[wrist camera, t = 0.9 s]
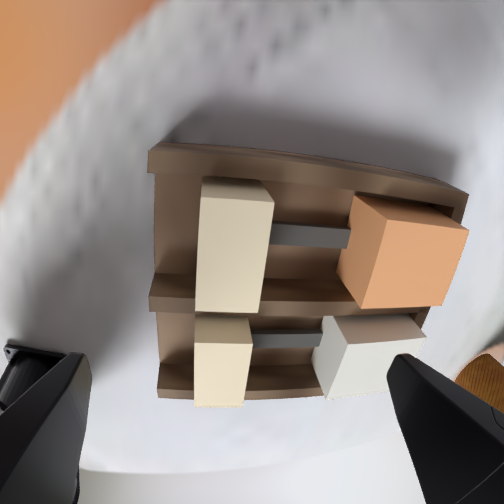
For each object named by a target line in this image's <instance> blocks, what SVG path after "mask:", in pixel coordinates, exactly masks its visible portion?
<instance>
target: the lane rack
mask: <svg viewBox="0 0 504 504" xmlns="http://www.w3.org/2000/svg"><path fill="white" fill-rule="evenodd" d="M147 173H155V203H154V263H155V274H154V278H153V281H152V285H151V289H150V293H149V309H150V312H156V316H157V332H158V346H159V358H160V367H159V375H158V384H157V393H158V398H170V399H192V400H194V339H195V314H210V315H244V316H248V321H249V326H250V330H297V329H320V327H321V324H322V321H323V317H324V316H344V315H377V314H400V313H408V314H409V316H410V317H411V318H412V319H413V321H414V322H415V323H416V324H417V326H418V327H419V328H420V329H421V328H422V325H423V323H424V321H425V319H426V316H427V314H428V312H429V310H430V307H431V306H424V307H401V308H370V309H361V308H360V307H359V305H358V304H357V302H356V301H355V299H354V298H353V296H352V295H351V293H350V292H349V290H348V289H347V288H346V286H345V285H344V283H343V282H342V280H341V279H340V277H339V276H338V274H337V273H336V269H337V266H338V262H339V258H340V254H341V249H339V248H323V247H306V246H289V245H272V244H268V251H267V257H266V264H265V270H264V277H263V283H262V290H261V296H260V303H259V309H258V313H236V312H206V311H195V299H196V272H197V251H198V233H199V216H200V201H201V188H202V176H215V177H229V178H242V179H254V180H260V181H261V182H262V184H263V185H264V187H265V188H266V190H267V191H268V193H269V195H270V196H271V198H272V199H273V201H274V202H275V204H274V210H273V217H272V221H285V222H298V223H310V224H322V225H334V226H345V227H347V224H348V220H349V215H350V211H351V206H352V201H353V197H354V195H357V196H365V197H372V198H379V199H385V200H392V201H398V202H405V203H411V204H417V205H423V206H429V207H432V208H434V209H436V210H437V211H439V212H441V213H442V214H444V215H446V216H447V217H449V218H451V219H452V220H454V221H455V222H457V223H459V224H460V225H461V221H462V218H463V214H464V211H465V207H466V204H467V200H468V196H469V194H468V193H465V192H463V191H461V190H459V189H457V188H455V187H453V186H451V185H449V184H447V183H445V182H442V181H440V180H437V179H433V178H429V177H425V176H420V175H416V174H411V173H407V172H402V171H397V170H393V169H388V168H383V167H377V166H372V165H367V164H361V163H356V162H350V161H344V160H338V159H331V158H325V157H318V156H311V155H304V154H296V153H289V152H280V151H272V150H263V149H253V148H243V147H231V146H219V145H204V144H187V143H164V142H159V143H158V144H156V145H155V146H154V147H153V148H151V149H150V150H149V151H148V170H147ZM313 350H314V347H297V348H252V353H251V359H250V365H249V371H248V377H247V383H246V389H245V395H244V400H261V399H283V398H299V397H312V396H323V395H324V394H323V391H322V389H321V386H320V383H319V381H318V378H317V375H316V373H315V370H314V368H313V365H312V362H311V357H312V354H313Z"/></svg>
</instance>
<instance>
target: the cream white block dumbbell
mask: <svg viewBox="0 0 504 504" xmlns="http://www.w3.org/2000/svg"><path fill="white" fill-rule="evenodd" d="M426 338H427V337H426V336H425V334H424V333H423V332H422V331H421V329H420V328H419V327H418V326H417V324H416V323H415V322H414V321H413V319H412V318H411V317H410V316H409V314H408V313H400V314H377V315H344V316H324V317H323V321H322V324H321V327H320V329H297V330H250V326H249V321H248V316H244V315H210V314H195V339H194V407H243V401H244V395H245V389H246V383H247V377H248V371H249V365H250V359H251V353H252V348H297V347H314V350H313V354H312V357H311V362H312V365H313V368H314V370H315V373H316V375H317V378H318V381H319V383H320V386H321V389H322V391H323V394H324V397H325V399H326V400H329V399H338V398H346V397H354V396H361V395H368V394H375V393H381V392H387V391H390V390H389V387H388V383H387V378H386V375H387V372H388V369H389V368H390V366H391V364H392V361H393V359H394V357H395V356H396V355H397V354H403V353H409V354H411V355H412V356H414V357H415V358H417V356H418V354H419V352H420V350H421V348H422V346H423V344H424V342H425V340H426Z"/></svg>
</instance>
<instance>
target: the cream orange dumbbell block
mask: <svg viewBox="0 0 504 504" xmlns="http://www.w3.org/2000/svg"><path fill="white" fill-rule="evenodd" d="M274 204H275V202H274V201H273V199H272V198H271V196H270V195H269V193H268V191H267V190H266V188H265V187H264V185H263V184H262V182H261V181H260V180H254V179H242V178H229V177H215V176H202V188H201V201H200V216H199V233H198V251H197V272H196V299H195V311H206V312H236V313H258V309H259V303H260V296H261V290H262V283H263V277H264V270H265V264H266V257H267V251H268V244H272V245H289V246H306V247H323V248H339V249H341V254H340V258H339V262H338V266H337V269H336V273H337V274H338V276H339V277H340V279H341V280H342V282H343V283H344V285H345V286H346V288H347V289H348V290H349V292H350V293H351V295H352V296H353V298H354V299H355V301H356V302H357V304H358V305H359V307H360V308H361V309H370V308H401V307H424V306H442V303H443V301H444V299H445V296H446V294H447V291H448V289H449V286H450V284H451V281H452V279H453V276H454V274H455V271H456V268H457V266H458V263H459V260H460V257H461V254H462V252H463V249H464V246H465V243H466V240H467V237H468V234H469V230H468V229H466V228H465V227H463V226H462V225H460V224H459V223H457V222H455V221H454V220H452V219H451V218H449V217H447V216H446V215H444V214H442V213H441V212H439V211H437V210H436V209H434V208H432V207H429V206H423V205H417V204H411V203H405V202H398V201H392V200H385V199H379V198H372V197H365V196H357V195H354V197H353V201H352V206H351V211H350V215H349V220H348V224H347V227H345V226H334V225H322V224H310V223H298V222H285V221H272V217H273V210H274Z"/></svg>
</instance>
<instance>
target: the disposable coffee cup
mask: <svg viewBox="0 0 504 504" xmlns="http://www.w3.org/2000/svg"><path fill="white" fill-rule="evenodd" d="M455 383H456V384H458V385H460V386H461V387H463V388H464V389H466V390H467V391H469V392H471V393H472V394H474V395H475V396H477V397H479V398H480V399H482V400H483V401H485V402H486V403H488V404H490V406H493V407H494V408H496V409H498V410H499V411H501V412H502V413H504V366H502V365H501V364H500V363H499V362H497V360H496V359H494V358H493V357H492V356H491V355H490V354H483V355H481V356H479V357H477V358H475V359H474V360H473V361H471V362H470V363H469V364H468V365H467V366H466V367H465V368H464V369H463V370H462V371H461V372H460V374H459V375H458V377H457V378H456V380H455Z"/></svg>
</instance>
